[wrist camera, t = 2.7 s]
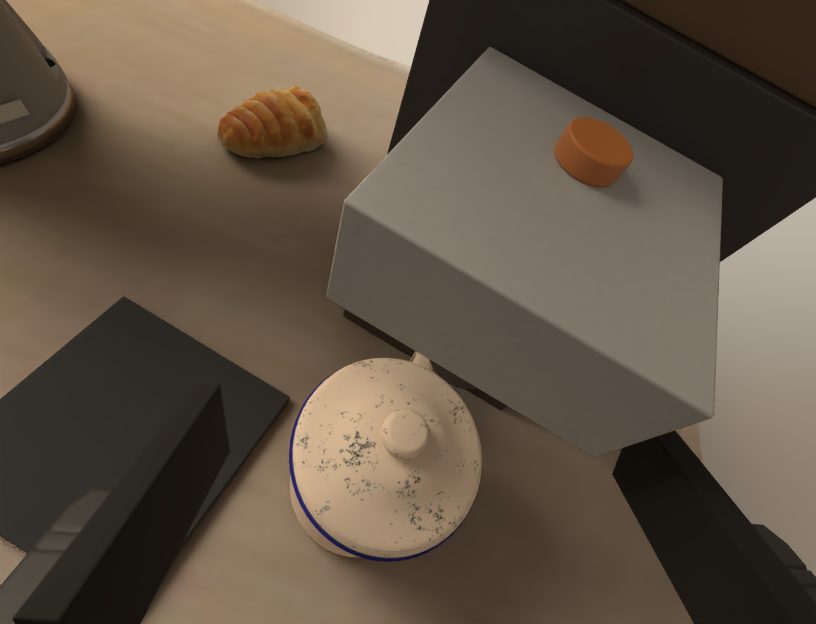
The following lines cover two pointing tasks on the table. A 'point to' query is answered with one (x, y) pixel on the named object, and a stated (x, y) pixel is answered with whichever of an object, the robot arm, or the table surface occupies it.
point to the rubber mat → (113, 415)
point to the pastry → (274, 125)
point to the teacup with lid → (384, 460)
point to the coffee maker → (581, 200)
